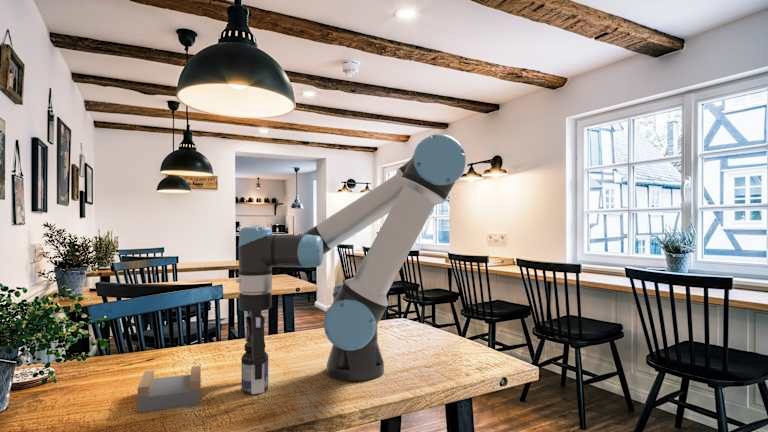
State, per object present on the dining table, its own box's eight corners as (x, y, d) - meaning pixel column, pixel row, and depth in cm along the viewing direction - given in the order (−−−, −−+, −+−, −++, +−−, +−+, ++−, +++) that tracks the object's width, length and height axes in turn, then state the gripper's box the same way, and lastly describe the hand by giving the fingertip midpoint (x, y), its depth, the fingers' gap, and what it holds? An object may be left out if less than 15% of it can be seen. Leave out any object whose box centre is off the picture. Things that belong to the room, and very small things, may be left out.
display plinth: (200, 385, 109) (200, 364, 109) (199, 404, 98) (199, 381, 98) (144, 392, 105) (145, 370, 105) (137, 412, 94) (137, 388, 94)
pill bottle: (258, 383, 111) (258, 338, 111) (273, 389, 107) (273, 342, 107) (236, 391, 106) (236, 343, 106) (251, 397, 102) (251, 348, 102)
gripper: (235, 285, 117) (235, 368, 117) (242, 301, 94) (241, 404, 93) (265, 284, 120) (265, 365, 119) (279, 299, 96) (278, 399, 96)
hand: (254, 382), depth 106 cm, fingers open, 13 cm apart
